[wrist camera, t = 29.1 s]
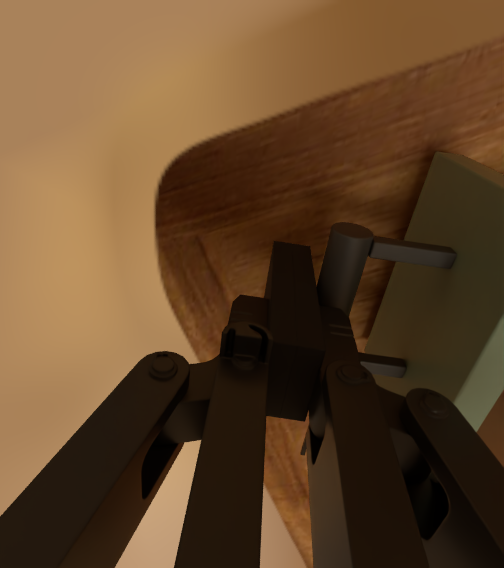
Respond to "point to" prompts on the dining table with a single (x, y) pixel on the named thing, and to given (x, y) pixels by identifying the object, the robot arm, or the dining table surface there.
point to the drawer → (436, 293)
